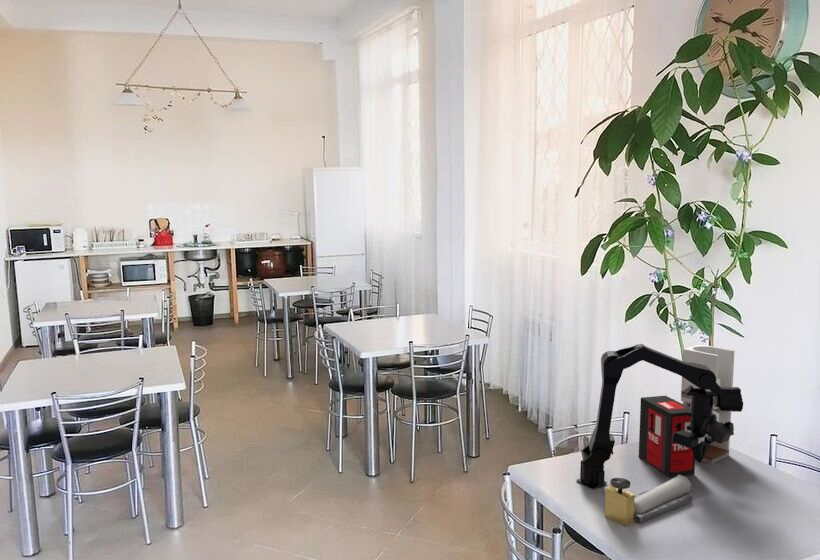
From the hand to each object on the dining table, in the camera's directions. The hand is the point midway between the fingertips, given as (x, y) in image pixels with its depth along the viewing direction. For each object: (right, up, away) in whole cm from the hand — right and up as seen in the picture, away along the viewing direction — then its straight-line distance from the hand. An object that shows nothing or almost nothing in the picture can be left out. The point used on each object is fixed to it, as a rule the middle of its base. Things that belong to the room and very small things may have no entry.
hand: (699, 462), depth 201 cm
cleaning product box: (-3, -6, +18) cm, 19 cm away
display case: (+13, -5, +27) cm, 30 cm away
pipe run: (-19, -10, -11) cm, 24 cm away
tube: (-15, -10, -8) cm, 20 cm away
